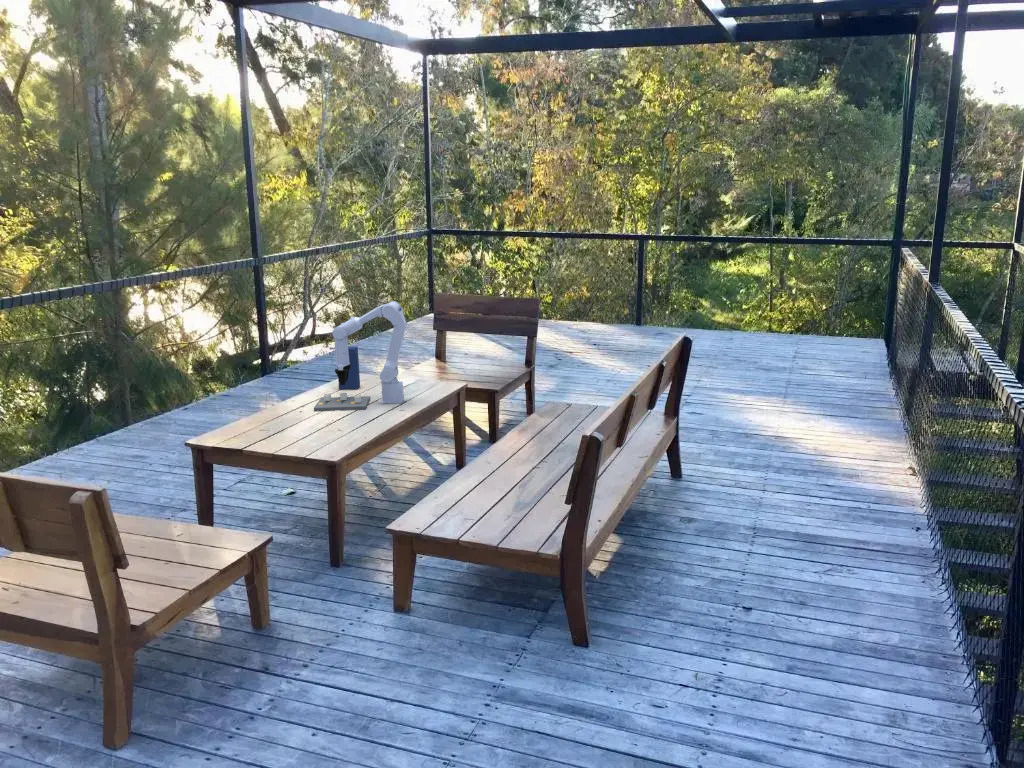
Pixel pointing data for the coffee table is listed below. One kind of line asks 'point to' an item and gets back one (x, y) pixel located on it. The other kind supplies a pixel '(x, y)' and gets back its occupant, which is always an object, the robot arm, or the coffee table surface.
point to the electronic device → (352, 370)
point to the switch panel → (342, 404)
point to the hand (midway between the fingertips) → (344, 382)
